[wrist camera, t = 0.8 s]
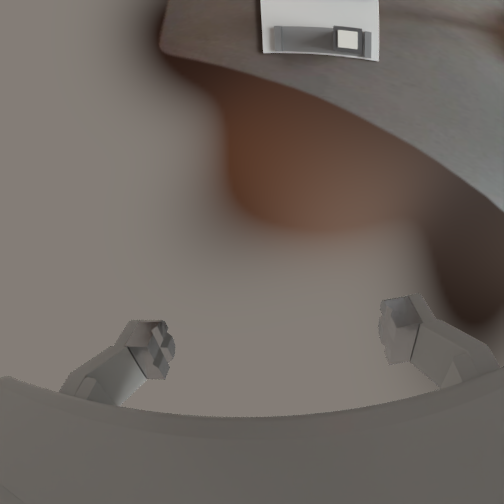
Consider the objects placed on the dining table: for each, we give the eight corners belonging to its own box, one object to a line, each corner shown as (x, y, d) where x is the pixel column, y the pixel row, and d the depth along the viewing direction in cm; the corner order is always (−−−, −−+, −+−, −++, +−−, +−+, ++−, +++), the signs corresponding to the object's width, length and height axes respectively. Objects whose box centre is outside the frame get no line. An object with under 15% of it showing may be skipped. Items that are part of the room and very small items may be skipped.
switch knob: (334, 30, 32) (333, 25, 25) (358, 33, 31) (362, 28, 24) (335, 51, 34) (333, 50, 27) (358, 53, 33) (361, 53, 26)
